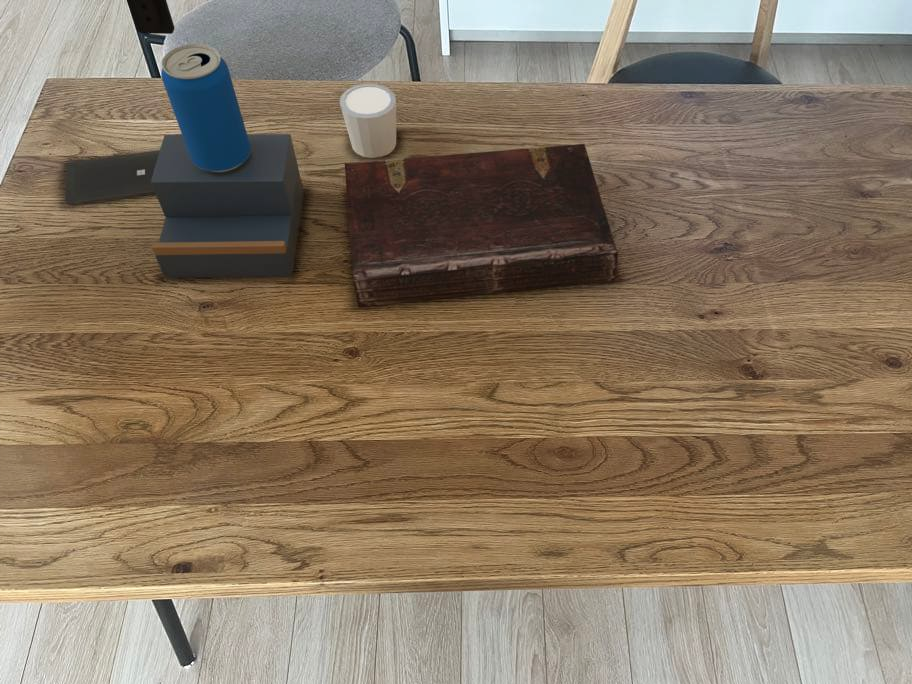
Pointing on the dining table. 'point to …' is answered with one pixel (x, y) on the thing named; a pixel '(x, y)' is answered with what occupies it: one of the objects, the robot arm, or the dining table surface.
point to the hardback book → (476, 224)
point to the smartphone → (110, 178)
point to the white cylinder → (370, 119)
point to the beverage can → (205, 107)
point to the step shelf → (229, 211)
